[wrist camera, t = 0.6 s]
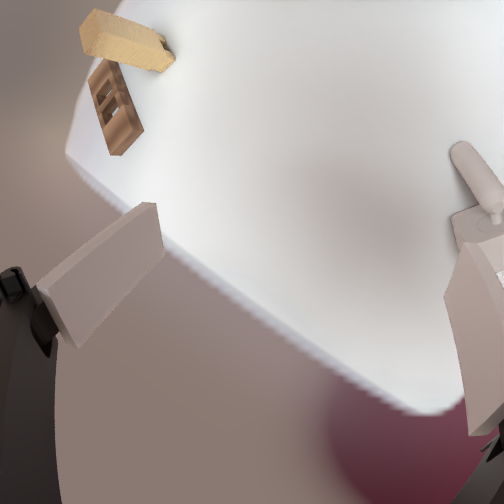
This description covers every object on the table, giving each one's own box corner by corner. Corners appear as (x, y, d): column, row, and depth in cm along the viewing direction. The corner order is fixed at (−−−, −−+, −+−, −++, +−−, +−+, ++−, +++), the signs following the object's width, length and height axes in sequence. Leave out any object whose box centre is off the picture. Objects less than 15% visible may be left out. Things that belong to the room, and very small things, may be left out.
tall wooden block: (148, 49, 41) (78, 28, 28) (164, 34, 39) (94, 8, 26) (160, 74, 40) (84, 54, 28) (177, 58, 38) (101, 31, 26)
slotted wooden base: (97, 81, 48) (87, 80, 46) (115, 58, 45) (106, 55, 42) (121, 155, 48) (110, 155, 45) (143, 130, 44) (132, 129, 42)
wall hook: (485, 131, 22) (525, 139, 14) (506, 217, 25) (543, 254, 17) (425, 151, 26) (448, 166, 18) (451, 237, 29) (474, 281, 21)
